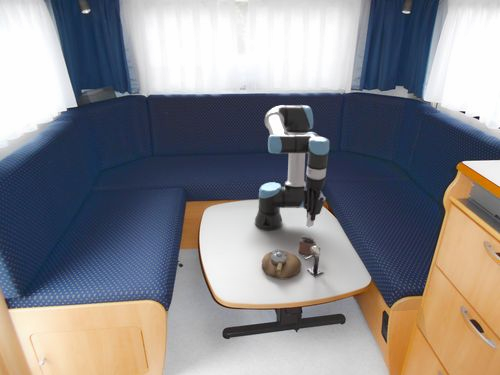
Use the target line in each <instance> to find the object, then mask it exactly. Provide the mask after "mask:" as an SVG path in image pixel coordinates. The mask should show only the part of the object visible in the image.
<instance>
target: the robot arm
mask: <svg viewBox="0 0 500 375" xmlns="http://www.w3.org/2000/svg"><path fill="white" fill-rule="evenodd" d="M263 120H264V125H265V127H266V128H267V130H268V131H269V132H268V133H269V136H268V137H267V139H268V140H267V148H268V152H269V153H270V154H288V164H287V165H288V166H287V168H288V169H287V180H286V181H285V182H284V186H282V185H281V183H278V182H275V181H273V182H266V183H264V184H261V186H260V187H259V192H258V211H257V213H256V216H255V218H254V224H255V225H256V227H257V228H259V229H260V230H265V231H275V230H278V229H279V228H281V227H282V226H283V218H282V215H281V209H301V208H303V209H304V210H306V224H305V225H306V227H308V228H310V227H312V226H314V224H315V220H316V216H317V215H320V214H321V211H322V209H323V206H324V204H325V201H326V200H327V199H328V197H327V195H326V196H324V194H323V193H324V191H323V190H324V189H323V188H324V186H325V182H326V175H327V166H328V158H329V153H330V152H329V151H330V140H329V139H328V138H326V137H323V136H320V135H318V133H316V132H315V131H310V130H312V129H313V128H314V114H313V110H312V108H311V107H310V106H309V105H303V104H299V105H298V104H296V105H294V104H293V105H292V104H291V105H286V104H281V105H277V106H274V107H272V108H270V109H269V110H268V111H267V112H266V113H265V116H264V119H263ZM306 154H307V163H306V162H305V161H306ZM305 164H306V165H307V166H306V176H305Z"/></svg>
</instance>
